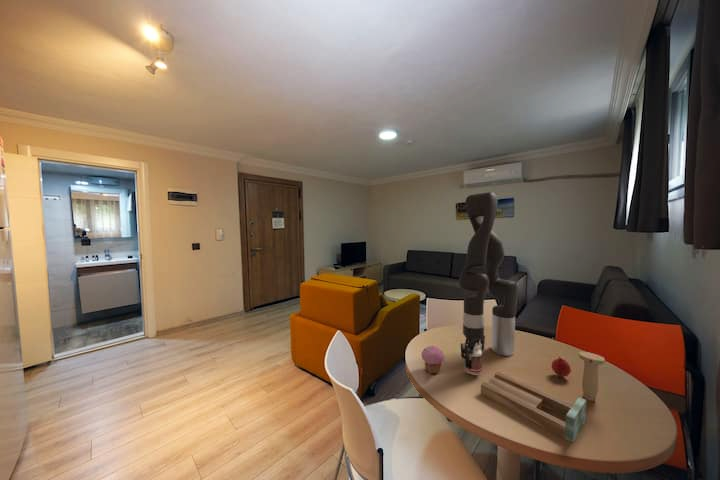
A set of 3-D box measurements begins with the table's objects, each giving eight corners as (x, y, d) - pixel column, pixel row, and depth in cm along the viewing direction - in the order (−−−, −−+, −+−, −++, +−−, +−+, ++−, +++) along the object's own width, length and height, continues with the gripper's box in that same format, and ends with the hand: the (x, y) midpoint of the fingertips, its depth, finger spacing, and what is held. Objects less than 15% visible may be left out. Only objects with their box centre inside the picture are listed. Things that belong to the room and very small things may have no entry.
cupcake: (438, 364, 112) (438, 341, 111) (447, 376, 103) (448, 352, 102) (418, 366, 110) (418, 343, 110) (426, 378, 102) (426, 353, 101)
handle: (601, 406, 85) (604, 362, 84) (576, 397, 90) (578, 355, 89) (602, 399, 89) (604, 356, 88) (577, 390, 93) (579, 350, 92)
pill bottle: (485, 371, 103) (485, 344, 102) (475, 377, 100) (476, 349, 99) (470, 364, 108) (470, 339, 107) (461, 370, 105) (461, 343, 104)
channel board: (497, 380, 100) (497, 362, 99) (585, 421, 79) (586, 399, 79) (480, 393, 93) (481, 374, 92) (572, 442, 72) (573, 418, 72)
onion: (567, 374, 103) (568, 354, 102) (572, 382, 98) (573, 362, 97) (549, 371, 105) (550, 351, 105) (553, 379, 100) (554, 359, 99)
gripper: (473, 315, 109) (473, 354, 111) (454, 325, 101) (454, 367, 102) (492, 321, 103) (491, 361, 105) (472, 332, 95) (472, 376, 96)
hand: (473, 364), depth 104 cm, fingers closed on pill bottle, 6 cm apart
